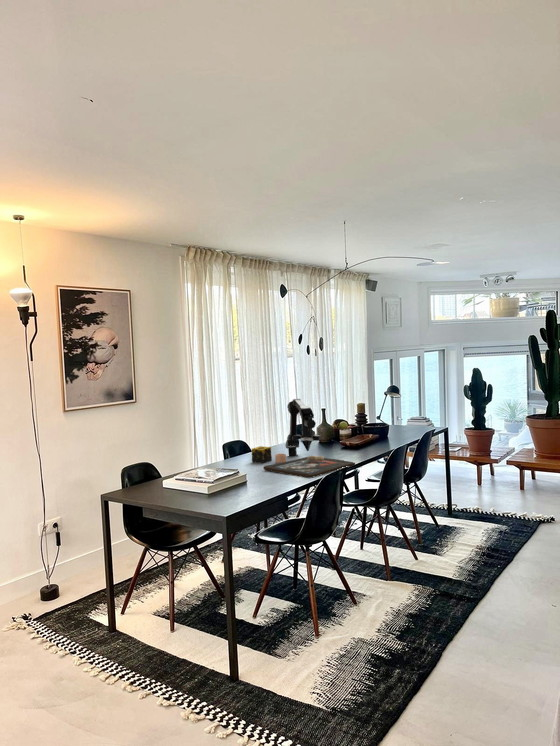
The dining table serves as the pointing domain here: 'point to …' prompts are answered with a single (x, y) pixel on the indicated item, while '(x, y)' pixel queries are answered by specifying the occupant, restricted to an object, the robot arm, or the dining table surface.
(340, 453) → the dining table surface
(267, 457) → the candle
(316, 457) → the birch pin
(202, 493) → the dining table surface
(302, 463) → the religious icon
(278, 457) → the terracotta cup
